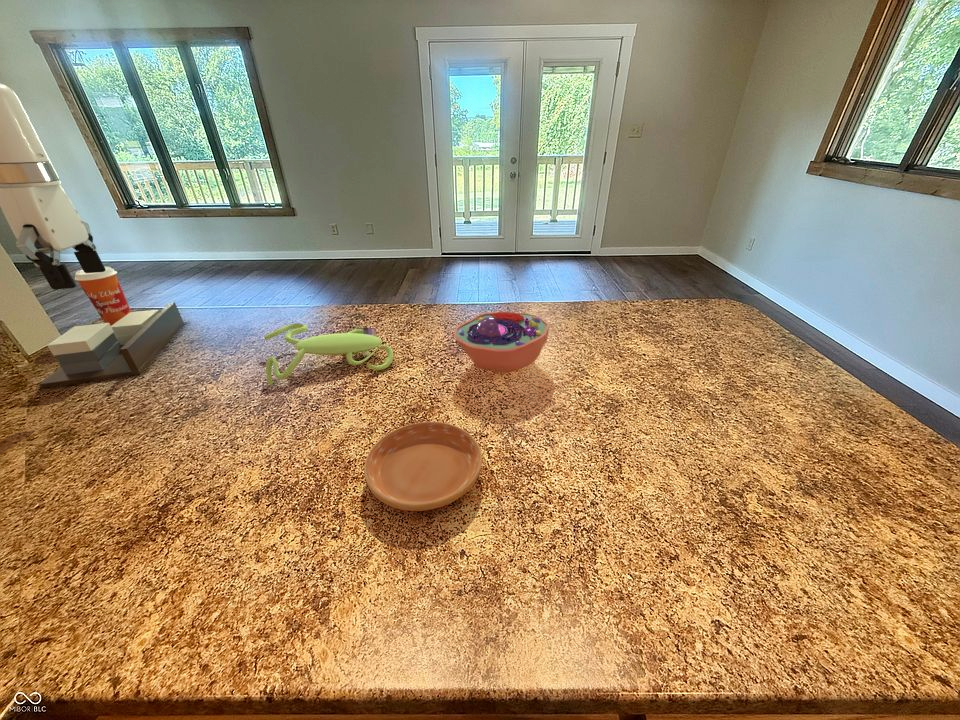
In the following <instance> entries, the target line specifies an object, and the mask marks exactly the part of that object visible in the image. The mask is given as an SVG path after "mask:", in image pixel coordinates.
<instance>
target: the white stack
mask: <svg viewBox="0 0 960 720" xmlns="http://www.w3.org/2000/svg"><path fill="white" fill-rule="evenodd" d="M160 311H161V310H159V309H151V310H149V309H148V310H140V311H131V312H130V313H128V314H127V315H126V316H124V317H123V318H122V319H120V320H119V321H117V322H116V323H115V324H113V325H112V326H111V327H112V329H113V331H114V332H113V333H114V335H115V337H116V338H117V340H118V341H119V342H120V344H121V345H124V344H126V343H127V342H128V341H129V340H130V339H131V338H132V337H134V336H135V335H136V334H137V333H138V332H139V331H140V330H141V329H142V328H143V327H144V326H145V325H146V324H147V323H148V322H150V321H151V320H152V319H153V318H154V317H155V316H156V315H157V314H158V313H159V312H160Z"/></svg>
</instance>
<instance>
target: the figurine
mask: <svg viewBox="0 0 960 720" xmlns="http://www.w3.org/2000/svg"><path fill="white" fill-rule="evenodd" d="M308 330H309V327H308V326H307V325H306V324H304V323H289V324H286V325H284V326H282V327H281V328H278V329H277V330H274V331H272V332H269V333H267V334H265V335H264V338H265V341H269V340H271V339H273V338H276V337H277V336H279V335H281V334H283V333H286V334H285V335H284V341H286V342H287V343H289V344H292V345H295V346H294V348H295V349H296V350H297V351H298V352H297V353H296V355H295V356H294V359H293V360H292V361H291V362H290V363H289V364H288V366H287V367H286V369H284V371H283V372H282V373H281V372H280V371H279V366H278V365H279V364H278V360H277V358H276V356H270V357H268V358H267V360H266V363H265V375H266V381H267V384H268V385H269V386H272V385H273V383H274V381H273V376H272V369H273V373H274V376H275V377H276V378H277V380H279V381H282V380H286V379H287V378H288V377H289V376H291V374H293V372H294V370H295V369H296V367H297V366H298V365H299V364H300V362H301V361H302V359H303V358H304V356H305V355H306V354H308V355H309V354H310V355H317V356H328V357H329V359H333V358H334V357H336V356H341V355H345V357H346V361H347V363H348V364H349V365H351V366H354V367H355V366H360V365H361V364H363V363H365V362H366V363H367V364H366V365H367V367H368V368H369V369H370V370H372V371H383V370H385V369H387V368H389V367H390V365H391V364H392V362H393V360H394V351H393V349H392V347H390V346H389V345H387V344H382V343H383V340H382V339H381V338H380V337H378V336H377V335H376V327H367V326H365V327H362V328H355V329H353V330H350V331H348V332H344V333H343V332H341V333H329V334H323V335H316V336H312V337H308V338H304V339H303V340H302V339H297V338H295V337H293V336H295V335H297V334H302V333H306V332H307V331H308ZM287 331H288V332H287ZM373 349H374V351H372V352H371V353H370V351H371V350H373ZM380 349H381V350H384V351H386V353H387V358H386V359H385V361H384V362H383V363H382V364H378V365H372V364H371V363H369V362H367V361H368V360H369V359H370V358H371V357H372V356H373V355H374V353H375V352H377V351H378V350H380ZM358 353H360V354H361V355H362V356H363V357H364V358H363V359H362V360H359V361H358V360H355V359H354V358H353V354H354V355H355V356H357V355H358ZM272 366H273V367H272Z"/></svg>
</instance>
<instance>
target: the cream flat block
mask: <svg viewBox="0 0 960 720" xmlns="http://www.w3.org/2000/svg"><path fill="white" fill-rule="evenodd" d="M113 332H114V331H113V329H112V327H111V326H110V324H109V323H105V322H103V323H102V322H101V323H94V324H85V325H75V326H73V327H71V328H70V329H68V330H67V331H66V332H64V333H63V334H61V335H60V336H58V337H57V338H56V339H54V340H53V341H51V342H50V343H48V344H47V345H46V347H47V349H48V350H49V351H50V353H51V354H52V356H55V355H62V354H70V353H78V352H86V351H92V350H93V349H94V348H95V347H96V346H98V345H99V344H100V343H101V342H102V341H104V340H105V339H106V338H107V337H108V336H110V335H111V334H112V333H113Z"/></svg>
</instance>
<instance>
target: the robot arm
mask: <svg viewBox="0 0 960 720" xmlns="http://www.w3.org/2000/svg"><path fill="white" fill-rule="evenodd" d="M0 208H1V212H2V213H3V215H4V217H5V220H6V222H7V223H8V225H9V227H10V229H11V231H12V233H13V235H14V236H15V237H14V238H15V239H16V242H15V246H16V248H17V249H18V250H19V251H21V253H23V254H24V255H25V257H26V258H27V260H29V261H31V262H32V263H33V265H34V266H35V267H36V268H39V271H41V273H42V275H43V277H44V278H45V280H46V282H47V283H48V285H49V286H50V288H51V289H52V290H56V291H57V290H69V289H74V288H76V287H77V284H76V282H75V279H74V278H73V277H72V275H71V273H70V271H69V269H68V268H67V266H66V264H65V263H61V251H65V250H68V249H71V248H72V249H73V250H75V251H74V252H73V254H74V256H75V257H76V260H77V261H78V264H79V265H80V267H81V270H83V271H84V272H85V273H97V272H104V271H105V270H106V269H105V267H106V266H105V265H104V262H103V261H102V260H101V258H100V256H99V254H98V251H97V246H96V244H95V243H94V237H93V235H92V233H91V230H90V225H89V224H88V222H86V221H83V220H82V218H81V216H80V215H79V212H78V211H77V209H76V207H75V206H74V204H73V202H72V201H71V199H70V198H69V196H68V194H67V193H66V192H65V189H64V188H63V187H62V181H61V180H60V178H59V176H58V173H57V172H56V170H55V168H54V166H53V164H52V162H51V160H50V158H49V156H48V154H47V152H46V150H45V148H44V146H43V144H42V142H41V140H40V139H39V136H38V134H37V132H36V130H35V128H34V126H33V124H32V122H31V121H30V118H29V116H28V114H27V113H26V110H25V109H24V106H23V105H22V102H21V101H20V99H19V97H18V95H17V94H16V92H15V91H14V90H13V89H12V88H10V87H9V86H7V85H6V84H4V83H1V82H0ZM48 254H49V255H48Z"/></svg>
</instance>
